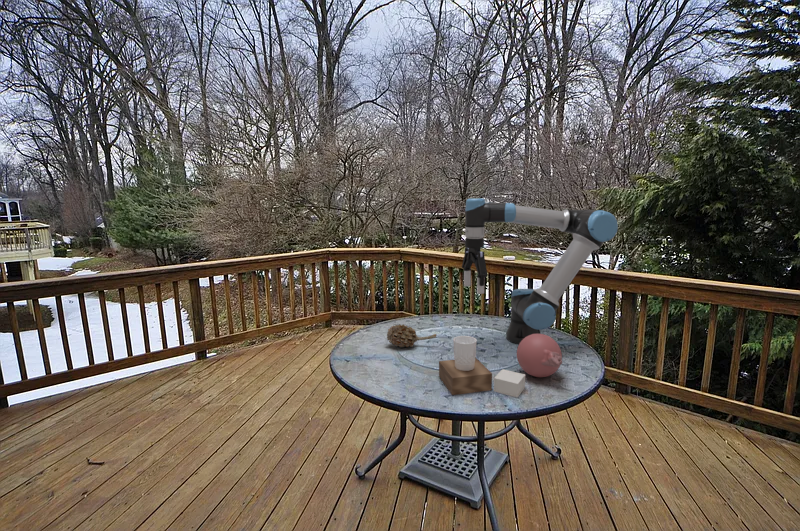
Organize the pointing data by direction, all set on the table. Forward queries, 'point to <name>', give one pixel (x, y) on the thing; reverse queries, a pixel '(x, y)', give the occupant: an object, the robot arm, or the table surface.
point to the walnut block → (465, 378)
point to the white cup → (464, 352)
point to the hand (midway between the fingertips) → (473, 289)
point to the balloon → (539, 355)
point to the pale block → (509, 383)
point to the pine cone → (404, 336)
